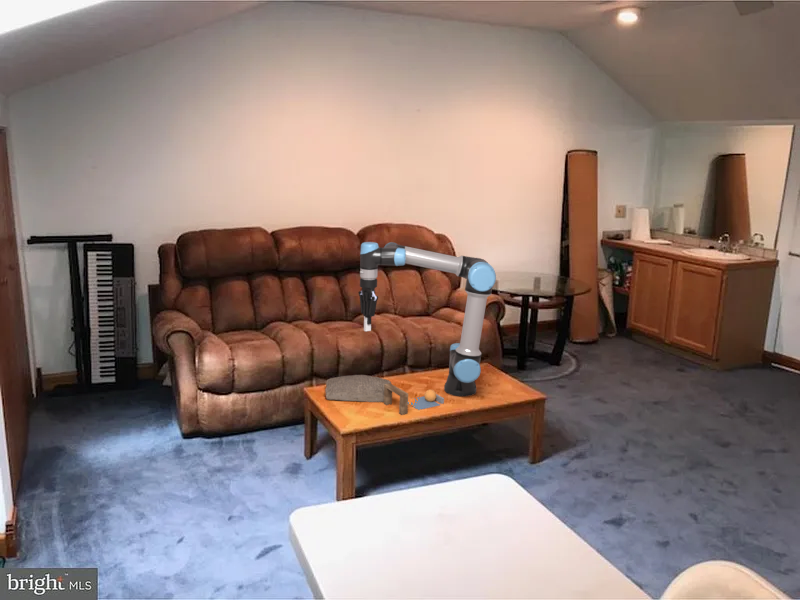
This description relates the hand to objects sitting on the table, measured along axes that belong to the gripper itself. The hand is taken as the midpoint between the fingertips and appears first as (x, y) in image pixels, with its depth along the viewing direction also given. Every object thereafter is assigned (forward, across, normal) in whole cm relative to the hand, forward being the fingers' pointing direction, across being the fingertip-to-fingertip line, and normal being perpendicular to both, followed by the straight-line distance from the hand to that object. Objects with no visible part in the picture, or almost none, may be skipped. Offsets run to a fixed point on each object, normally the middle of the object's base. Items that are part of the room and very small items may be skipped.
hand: (367, 330), depth 299 cm
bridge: (+32, +16, +6) cm, 36 cm away
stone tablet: (+33, -7, 0) cm, 34 cm away
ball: (+30, +16, +24) cm, 42 cm away
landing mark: (+32, +16, +20) cm, 41 cm away
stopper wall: (+32, +16, +28) cm, 46 cm away
